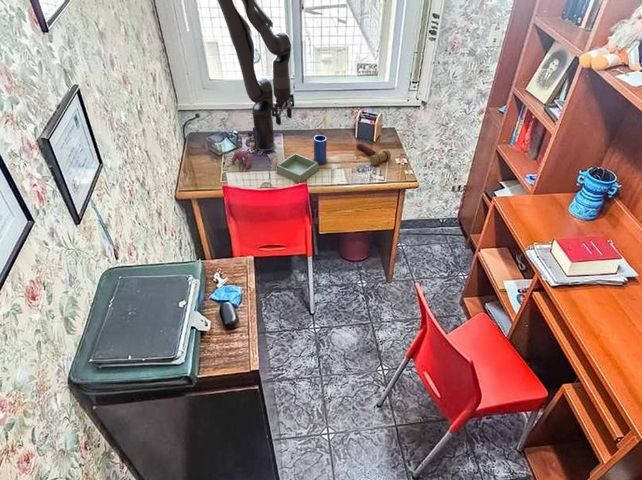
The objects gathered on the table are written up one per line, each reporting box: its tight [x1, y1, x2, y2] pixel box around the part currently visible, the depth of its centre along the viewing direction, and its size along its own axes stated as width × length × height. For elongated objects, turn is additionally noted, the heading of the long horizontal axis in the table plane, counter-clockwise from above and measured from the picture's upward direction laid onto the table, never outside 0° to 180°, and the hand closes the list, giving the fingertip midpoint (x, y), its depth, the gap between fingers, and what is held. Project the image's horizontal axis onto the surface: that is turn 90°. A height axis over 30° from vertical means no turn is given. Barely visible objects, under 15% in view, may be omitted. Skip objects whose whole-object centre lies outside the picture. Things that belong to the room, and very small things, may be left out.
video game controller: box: [231, 150, 254, 169], centre depth 223 cm, size 10×5×7 cm, turn 65°
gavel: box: [355, 143, 392, 166], centre depth 233 cm, size 21×5×10 cm
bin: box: [275, 152, 319, 184], centre depth 220 cm, size 14×14×4 cm
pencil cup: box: [313, 134, 328, 165], centre depth 224 cm, size 6×6×12 cm
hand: (284, 120), depth 218 cm, fingers open, 8 cm apart
